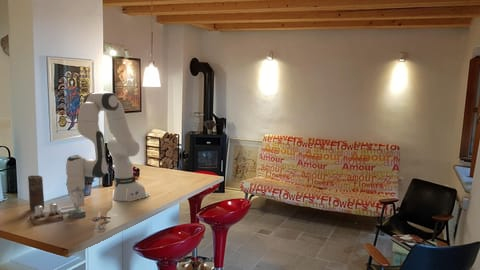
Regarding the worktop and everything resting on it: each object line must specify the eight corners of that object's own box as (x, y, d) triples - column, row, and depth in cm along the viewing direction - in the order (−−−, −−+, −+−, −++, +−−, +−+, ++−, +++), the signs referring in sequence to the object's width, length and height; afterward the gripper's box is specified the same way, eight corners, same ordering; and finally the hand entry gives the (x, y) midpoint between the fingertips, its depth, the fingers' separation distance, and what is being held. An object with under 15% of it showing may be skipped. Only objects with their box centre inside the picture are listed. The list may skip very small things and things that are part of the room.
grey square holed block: (82, 213, 208) (82, 208, 207) (85, 216, 202) (85, 211, 202) (68, 215, 203) (68, 210, 203) (71, 219, 198) (71, 214, 198)
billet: (56, 216, 201) (56, 202, 200) (58, 218, 199) (57, 204, 198) (49, 218, 199) (48, 203, 198) (50, 220, 196) (50, 205, 195)
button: (79, 213, 205) (78, 208, 204) (80, 215, 202) (80, 209, 202) (73, 214, 203) (73, 209, 203) (75, 216, 201) (74, 210, 200)
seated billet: (42, 219, 197) (41, 205, 196) (43, 221, 194) (43, 206, 193) (35, 220, 195) (34, 206, 194) (36, 222, 192) (35, 208, 191)
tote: (75, 207, 216) (75, 205, 216) (78, 211, 210) (78, 209, 210) (58, 210, 211) (58, 208, 211) (61, 214, 204) (61, 212, 204)
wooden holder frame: (58, 213, 206) (58, 209, 205) (63, 220, 196) (63, 216, 196) (30, 219, 197) (30, 214, 197) (33, 226, 188) (33, 221, 188)
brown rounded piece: (31, 208, 214) (29, 174, 212) (45, 206, 217) (43, 173, 214) (28, 212, 207) (26, 177, 205) (43, 211, 210) (41, 177, 207)
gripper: (87, 188, 194) (88, 213, 196) (77, 180, 210) (78, 203, 212) (74, 190, 190) (75, 216, 192) (65, 182, 206) (66, 205, 208)
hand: (76, 209), depth 202 cm, fingers closed, pressing on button
